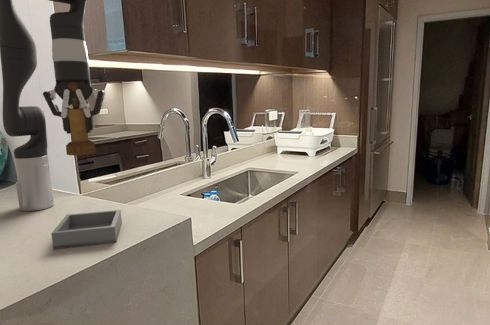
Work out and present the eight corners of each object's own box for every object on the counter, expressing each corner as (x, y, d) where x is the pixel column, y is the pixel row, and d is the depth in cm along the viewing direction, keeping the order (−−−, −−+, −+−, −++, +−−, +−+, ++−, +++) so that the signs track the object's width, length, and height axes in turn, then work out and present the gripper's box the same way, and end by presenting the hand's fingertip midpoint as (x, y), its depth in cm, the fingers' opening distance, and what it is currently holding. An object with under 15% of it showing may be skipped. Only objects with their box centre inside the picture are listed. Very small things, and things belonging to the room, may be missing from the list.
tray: (53, 249, 81) (51, 233, 80) (68, 228, 95) (66, 214, 94) (116, 242, 84) (114, 226, 84) (121, 222, 98) (120, 209, 97)
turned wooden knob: (84, 155, 82) (75, 78, 78) (60, 155, 83) (51, 79, 80) (101, 151, 88) (93, 79, 85) (78, 151, 89) (70, 80, 86)
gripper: (105, 62, 87) (111, 130, 90) (43, 62, 83) (52, 132, 87) (100, 59, 80) (107, 133, 83) (32, 58, 76) (42, 135, 79)
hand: (79, 132), depth 85 cm, fingers closed on turned wooden knob, 4 cm apart
